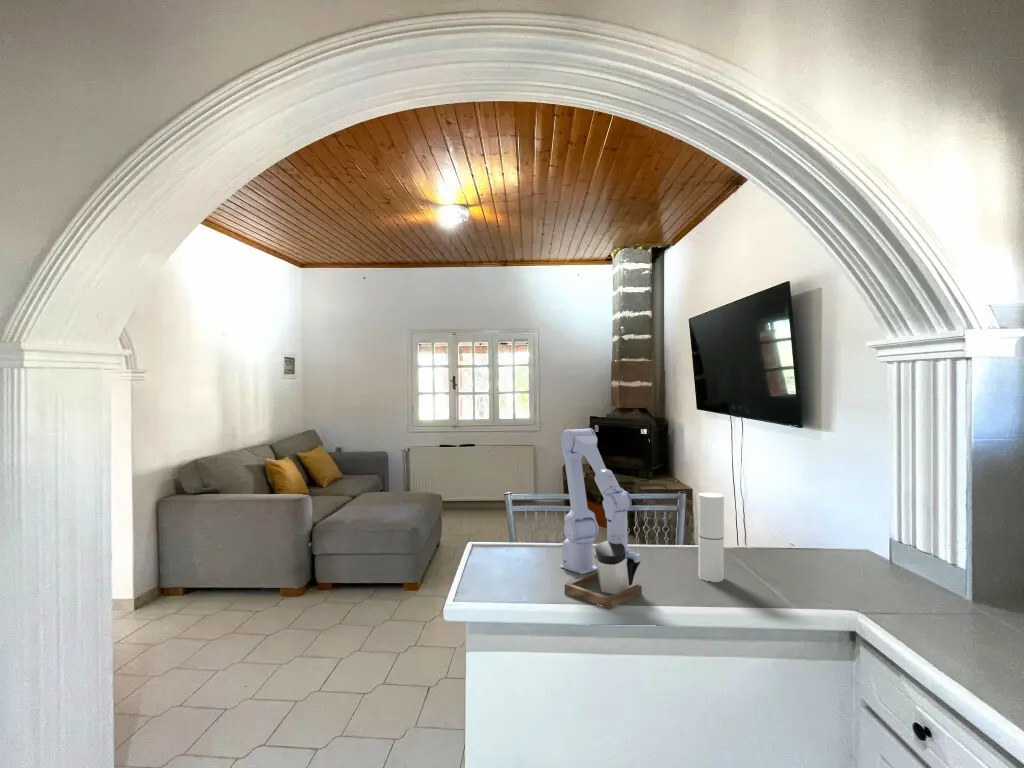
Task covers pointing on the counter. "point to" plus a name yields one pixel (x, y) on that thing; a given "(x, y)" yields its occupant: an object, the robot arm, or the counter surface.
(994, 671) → the counter surface
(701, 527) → the cylindrical container
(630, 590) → the bay
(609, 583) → the jar
